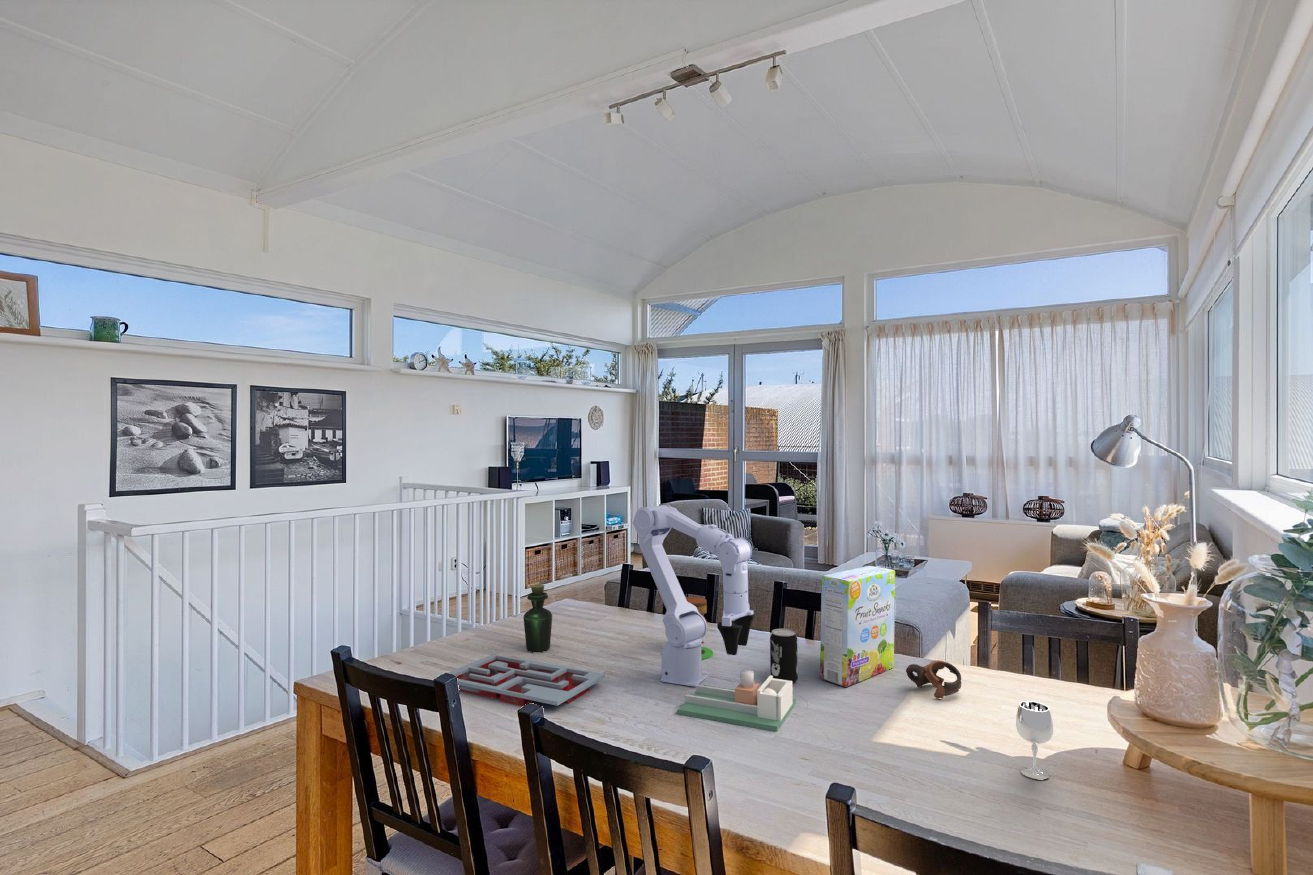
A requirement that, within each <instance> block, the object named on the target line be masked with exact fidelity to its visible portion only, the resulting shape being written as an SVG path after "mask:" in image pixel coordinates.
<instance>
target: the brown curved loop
mask: <svg viewBox="0 0 1313 875" xmlns="http://www.w3.org/2000/svg"><path fill="white" fill-rule="evenodd" d="M945 668H946V669H948V670H949V672H950V673H951V674H954V676H956V679H955V681H952V682H949V681H945V679H944V678H943V677H941V676H939V675H937V673H938V672H939V670H944V669H945ZM905 672H906V675H907V677H908V679H909V680H910V681H911V682H914V683H915V685H916V687H917V688H921V687H920V686H922V685H923V686H924V685H927V684H931V685H932V686H933V687H935V688H936V689H935V692H934V693H933V697H934V698H936V699H937V698H942V699H943V698H944V697H947V696H951V695H954V694H956V693H959V691H960V690H961V687H962V674H961V673H960V671H959V668H958V669H957V667H956V666H954V665H953V664H951V663H949V662H947V661H943V660H933V661H931V662H929V664H926V665H924V666H921V665H919V664H916V663H912V664H909V665H908V666H907V667H906V669H905ZM915 674H916V675H915ZM923 686H922V687H923Z"/></svg>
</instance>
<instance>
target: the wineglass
mask: <svg viewBox="0 0 1313 875" xmlns="http://www.w3.org/2000/svg"><path fill="white" fill-rule="evenodd" d="M1015 726H1016V731H1017V733H1018V735H1019V736H1020V737H1021V738H1022V739H1024V740H1025V741H1026V742H1029V743H1031V753H1032V758H1033V759H1032V760H1033V761H1032V767H1030V768H1031V769H1027V771H1028V773H1030V774H1032V775H1043V772H1041V771H1040V770H1041V769H1039V768H1038V767H1037V753H1038V751H1039V749H1038V748H1039V747H1038V745H1041V744H1045V743H1048V742H1049V741H1050V740H1051V739H1052V738H1053V735H1054V734H1053V733H1054V722H1053V716H1052V713H1051V710H1050V707H1049V706H1048V705H1046V704H1044V703H1041V702H1038V701H1032V700H1031V701H1028V700H1025V701H1020V702H1019V704H1018V708H1017V711H1016V717H1015ZM1038 769H1039V770H1038Z"/></svg>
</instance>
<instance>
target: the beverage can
mask: <svg viewBox="0 0 1313 875" xmlns="http://www.w3.org/2000/svg"><path fill="white" fill-rule="evenodd" d="M769 652H770V654H769V659H770V660H769V662H770V666H769V667H770V670H769V671H770V674H769V676H770V675H772V676H773V678H774V679H781V680H788V681H792V685H793V684H795V683H796V682H797V680H798V679H799V678H798V677H799V676H798V675H799V674H798V672H799V670H798V664H799V663H798V660H799V659H798V657H799V656H798V637H797V635H796V631H795V630H793V629H791V628H790V629H789V628H775V629H772V630H771V635H770V638H769Z"/></svg>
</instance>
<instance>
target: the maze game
mask: <svg viewBox="0 0 1313 875" xmlns="http://www.w3.org/2000/svg"><path fill="white" fill-rule="evenodd" d="M448 673H450V674H453V675H454V676H457V678H458V685H459V689H460V691H459V692H463V693H468V694H472V695H478V696H483V697H486V698H492V699H495V700H496V699H499V701H500V702H502V703H507V704H511V705H516V706H519V707H524V706H523V705H525V704H527V703H528V702H531V703H532V701H534V702H538V703H542V704H548V705H553V706H557V707H558V706H559V705H560V706H561V704H566V705H567V704H568V705H569V704H570V703H572V702H573V701H575V700H576V699H579V698H580V697H582V696H584V695H585V694H587V693H588V692H590V691H591V690H590V687H592V686H594V685H595V684H597V683H598V682H600V681H602V680H603V679H605V678H606V673H602V672H598V671H597V672H596V671H592V670H585V669H579V668H574V667H568V666H564V665H563V666H562V665H557V664H553V663H552V664H551V663H547V662H541V661H537V660H536V661H533V660H531V659H530V660H529V659H524V658H517V657H512V656H508V655H501V654H496V653H492V654H489V655H487V656H485V657H483V658H480V659H478V660H475V661H472V662H470V663H468V664H466V665H464V666H461V667H459V668H457V669H454V670H451V671H449V672H448ZM527 705H528V704H527ZM525 706H526V705H525Z"/></svg>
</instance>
